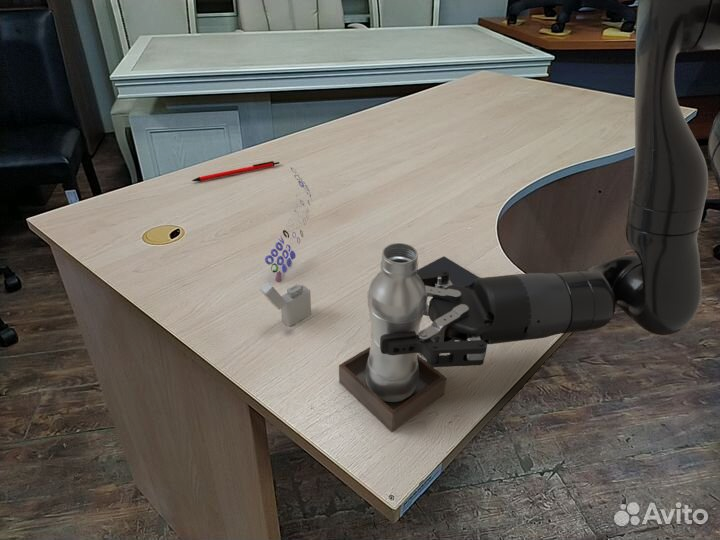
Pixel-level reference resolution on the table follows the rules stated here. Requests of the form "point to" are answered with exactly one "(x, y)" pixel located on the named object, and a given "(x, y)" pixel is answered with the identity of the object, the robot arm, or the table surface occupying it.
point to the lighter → (290, 302)
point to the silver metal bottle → (395, 321)
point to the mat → (451, 271)
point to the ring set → (292, 253)
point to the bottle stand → (378, 406)
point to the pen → (237, 171)
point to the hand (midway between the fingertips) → (374, 322)
